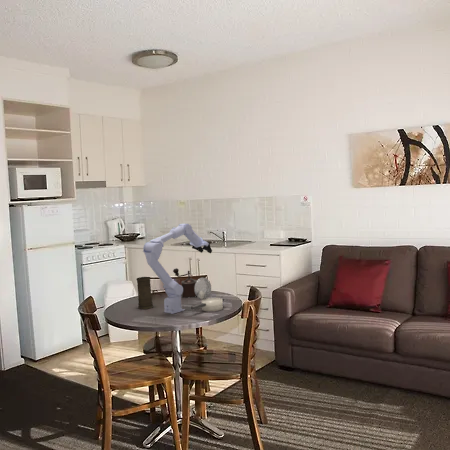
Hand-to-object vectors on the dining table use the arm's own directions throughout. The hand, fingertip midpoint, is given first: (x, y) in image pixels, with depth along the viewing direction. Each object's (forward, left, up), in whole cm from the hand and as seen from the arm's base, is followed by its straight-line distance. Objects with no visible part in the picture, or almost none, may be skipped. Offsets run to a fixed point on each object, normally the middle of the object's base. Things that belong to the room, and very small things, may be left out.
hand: (206, 251), depth 298 cm
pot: (-16, -15, -30) cm, 38 cm away
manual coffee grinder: (+3, +25, -31) cm, 40 cm away
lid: (-12, -9, -19) cm, 25 cm away
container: (-31, +23, -31) cm, 50 cm away
